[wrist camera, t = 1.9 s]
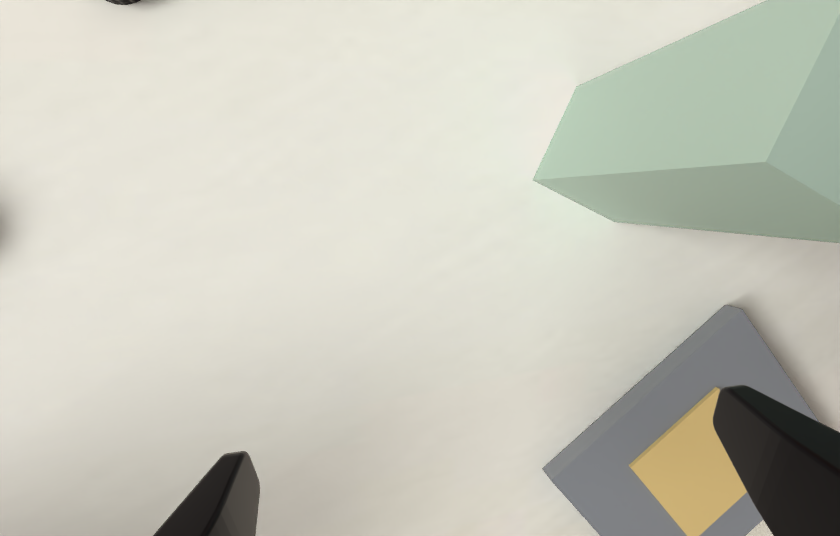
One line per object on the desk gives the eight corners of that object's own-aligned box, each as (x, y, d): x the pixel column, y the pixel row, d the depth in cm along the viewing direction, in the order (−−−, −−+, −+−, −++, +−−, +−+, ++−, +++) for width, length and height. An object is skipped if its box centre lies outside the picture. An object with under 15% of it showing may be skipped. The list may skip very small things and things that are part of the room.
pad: (653, 593, 26) (668, 612, 25) (542, 468, 24) (553, 482, 23) (819, 441, 26) (842, 452, 25) (725, 304, 24) (745, 310, 23)
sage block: (614, 221, 23) (915, 250, 11) (532, 180, 22) (765, 161, 10) (657, 132, 22) (1014, 62, 11) (576, 86, 21) (869, -47, 10)
